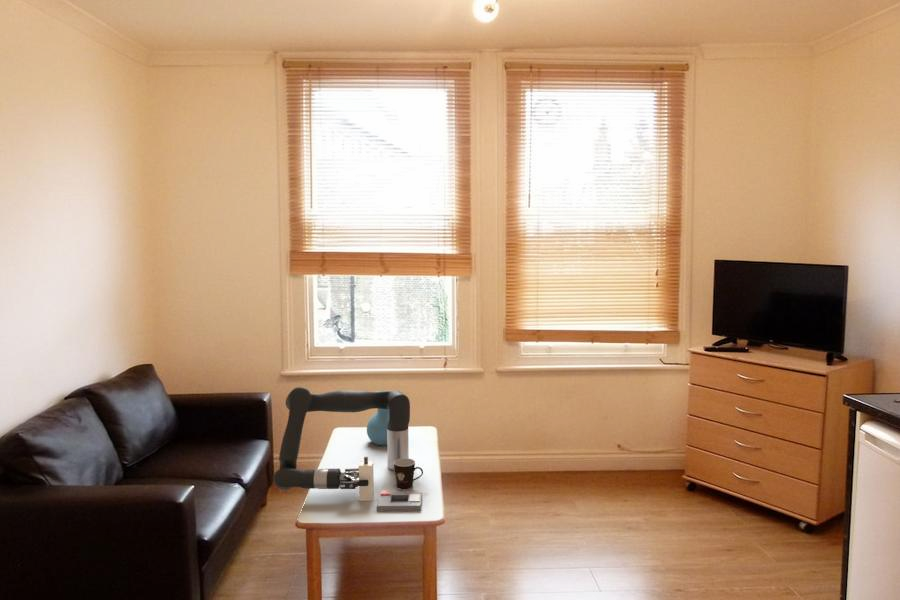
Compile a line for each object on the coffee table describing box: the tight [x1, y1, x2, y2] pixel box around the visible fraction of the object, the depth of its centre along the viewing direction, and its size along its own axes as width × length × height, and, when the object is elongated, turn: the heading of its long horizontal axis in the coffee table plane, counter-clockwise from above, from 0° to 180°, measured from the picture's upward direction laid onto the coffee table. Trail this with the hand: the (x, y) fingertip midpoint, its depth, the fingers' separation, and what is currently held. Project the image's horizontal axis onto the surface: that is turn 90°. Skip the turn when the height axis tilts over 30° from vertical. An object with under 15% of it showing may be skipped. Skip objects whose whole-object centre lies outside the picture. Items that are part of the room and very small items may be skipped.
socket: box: [376, 490, 422, 512], centre depth 230 cm, size 12×16×3 cm
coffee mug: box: [393, 458, 424, 491], centre depth 245 cm, size 12×9×10 cm
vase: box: [366, 390, 389, 446], centre depth 297 cm, size 16×16×25 cm
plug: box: [358, 456, 375, 502], centre depth 234 cm, size 4×5×16 cm
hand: (369, 478), depth 234 cm, fingers open, 8 cm apart
